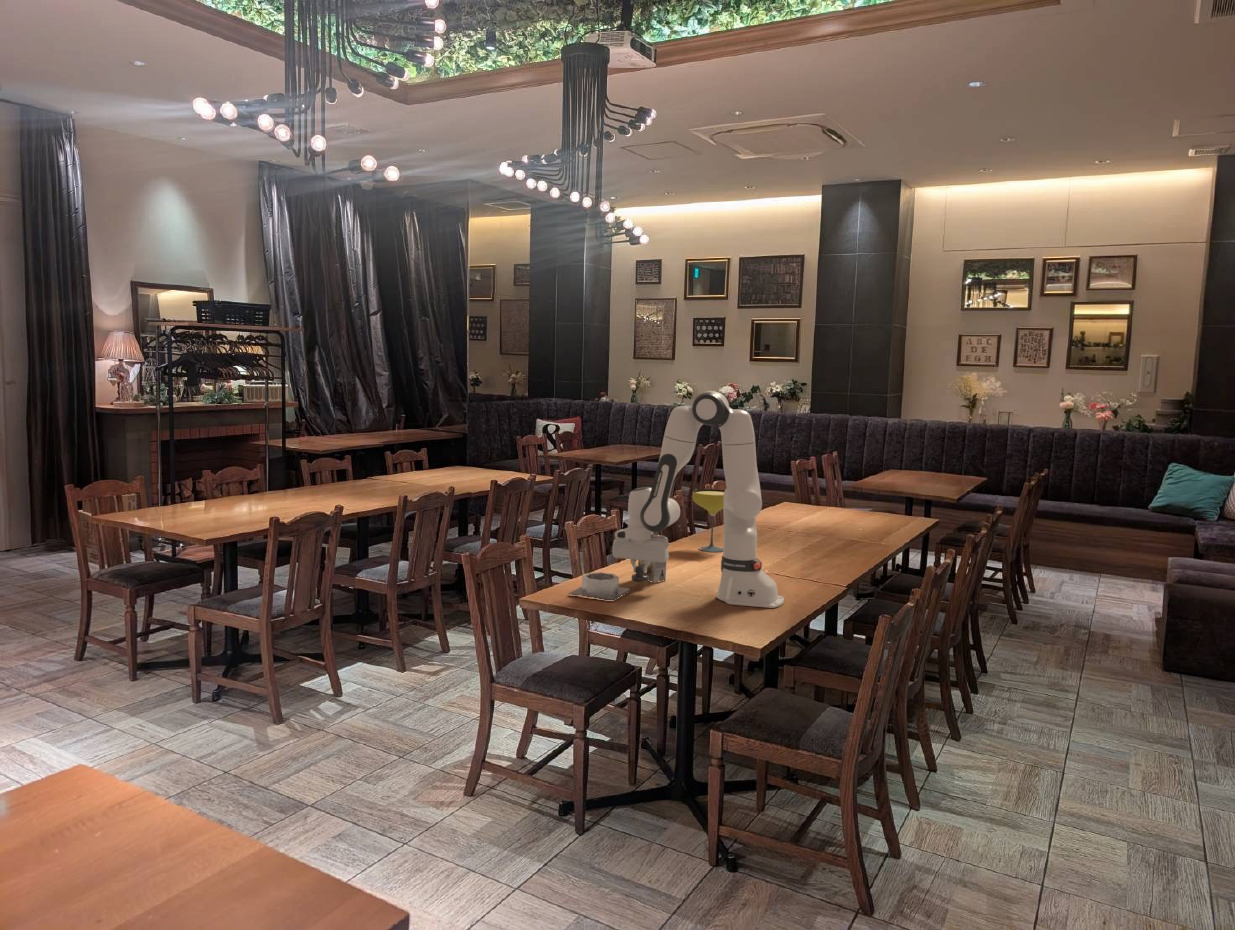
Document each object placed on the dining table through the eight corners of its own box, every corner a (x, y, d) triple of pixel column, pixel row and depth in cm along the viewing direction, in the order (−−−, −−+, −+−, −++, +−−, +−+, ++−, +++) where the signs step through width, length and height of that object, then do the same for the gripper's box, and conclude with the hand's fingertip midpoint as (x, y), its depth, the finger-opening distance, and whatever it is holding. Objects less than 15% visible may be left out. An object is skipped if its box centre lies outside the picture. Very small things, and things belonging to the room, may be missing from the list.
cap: (651, 578, 308) (651, 564, 307) (644, 582, 302) (644, 568, 302) (635, 577, 310) (635, 563, 310) (628, 580, 305) (629, 566, 304)
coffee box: (636, 578, 320) (638, 535, 318) (649, 576, 324) (650, 533, 323) (653, 583, 313) (655, 539, 312) (666, 581, 318) (668, 537, 316)
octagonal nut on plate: (630, 591, 301) (631, 574, 300) (612, 602, 286) (612, 584, 285) (588, 585, 307) (589, 569, 306) (568, 596, 292) (568, 578, 292)
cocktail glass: (682, 546, 381) (684, 489, 378) (718, 544, 388) (720, 488, 386) (703, 555, 364) (706, 495, 362) (740, 552, 372) (743, 494, 369)
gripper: (671, 534, 303) (671, 573, 304) (617, 529, 311) (617, 567, 313) (665, 537, 297) (664, 577, 299) (610, 532, 306) (610, 571, 307)
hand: (640, 572), depth 306 cm, fingers closed on cap
